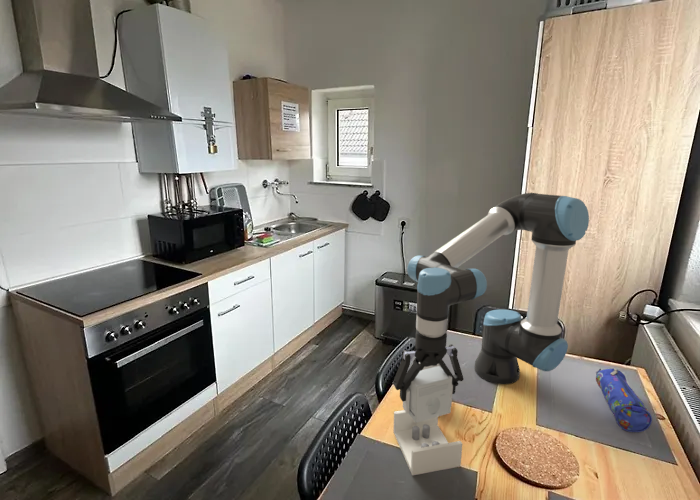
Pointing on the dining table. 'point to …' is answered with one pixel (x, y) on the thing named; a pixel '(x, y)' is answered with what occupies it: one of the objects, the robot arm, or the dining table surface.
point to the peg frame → (425, 444)
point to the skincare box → (430, 394)
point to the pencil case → (623, 401)
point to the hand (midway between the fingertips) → (427, 407)
